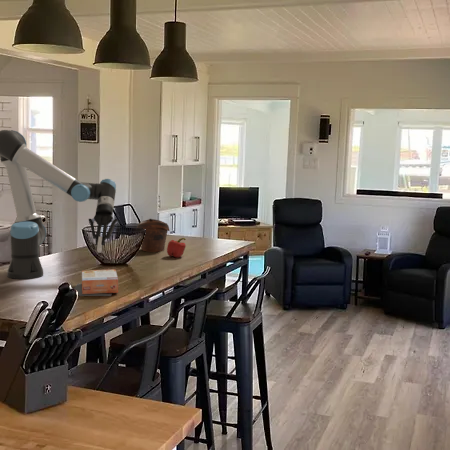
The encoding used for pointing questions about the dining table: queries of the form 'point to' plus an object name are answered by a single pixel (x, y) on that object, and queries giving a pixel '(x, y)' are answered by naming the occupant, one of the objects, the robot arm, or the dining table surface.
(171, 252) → the vegetable
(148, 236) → the brown lidded pot
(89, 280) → the cracker box
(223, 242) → the dining table surface
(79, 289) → the grey mat
